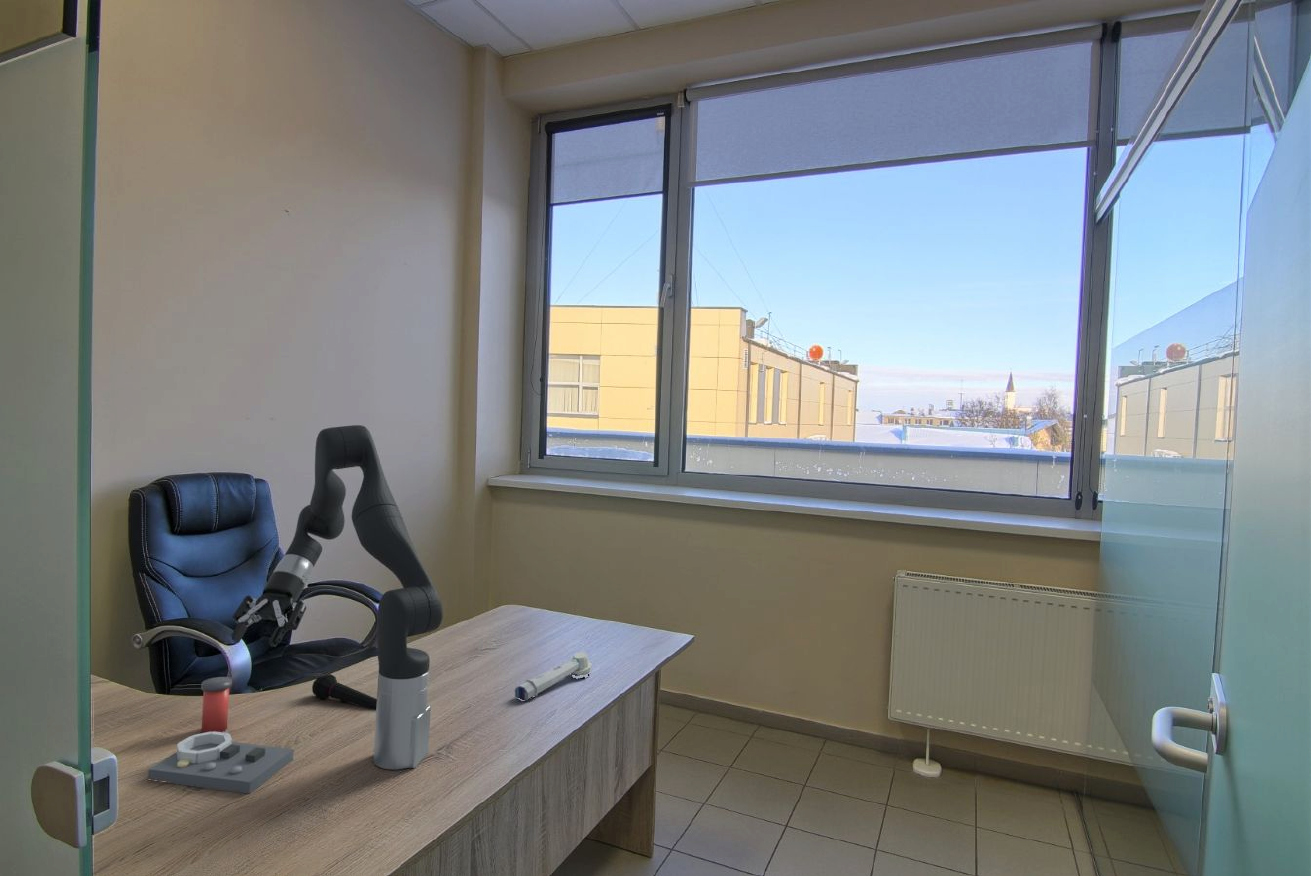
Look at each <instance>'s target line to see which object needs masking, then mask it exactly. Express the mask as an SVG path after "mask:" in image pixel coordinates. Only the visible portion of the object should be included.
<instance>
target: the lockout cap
mask: <svg viewBox="0 0 1311 876" xmlns="http://www.w3.org/2000/svg"><path fill="white" fill-rule="evenodd" d="M232 685H233V680H232V678H231V677H227V676H217V677H212V678H207V679H205V680H203V681H202V682H201V688H200V689H201V691H203V697H202V714H201V730H200V731H201V732H202V733H206V732H211V731H212V732H213V731H215V732H223V731H225V730H226V729H227V730H228V719H229V716H228V715H229V699H230V688H231V687H232ZM227 730H226V731H227ZM226 731H225V732H226ZM223 733H224V732H223Z"/></svg>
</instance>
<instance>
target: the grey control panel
mask: <svg viewBox="0 0 1311 876" xmlns="http://www.w3.org/2000/svg"><path fill="white" fill-rule="evenodd" d="M292 761H294V749H293V748H286V747H278V746H271V745H270V746H269V745H263V744H262V745H261V744H255V743H244V742H236V741H233V739H232V736H231V734H230V733H228V732H215V731H213V732H212V731H211V732H206V733H198V734H197V733H196V734H193V735H190V736H188V737H187V738H184V739H183V740H181V741H179V742H178V743H177V744H176V752H175V753H172V754H171V755H169V756H168V757H166V758H164V759H163V760H161V761H159V762H158V763H156V764H154V765H153V766H151V767H150V768H148V769H147V780H148V779H151V780H157V781H166V782H170V783H169V784H171V783H176V784H175V785H179V784H182V785H181V786H187V785H190V786H189V787H194V786H196V787H197V788H202V787H203V788H204V789H211V790H219V791H225V792H234V793H241V794H251V793H253V792H254V791H256V790H257V788H259V787H260V786H261V785H263V784H264V783H265V782H267V781H268V780H269V779H271V777H273V776H274V775H276V774H277V773H278V772H279V771H281V770H282V769H283V768H285V766H287V765H289V764H290V763H291V762H292Z"/></svg>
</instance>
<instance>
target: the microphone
mask: <svg viewBox="0 0 1311 876" xmlns="http://www.w3.org/2000/svg"><path fill="white" fill-rule="evenodd" d="M311 689H312V690H311V691H312V694H313V695H314V696H315V698H316V699H319V700H321V701H323V700H325V699H328V698H331V699H334V700H338V701H339V702H341V703H343V704H348V703H349V704H352V705H356V706H358V707H359V706H360V707H363V708H366V709H371V710H372V709H373V710H376V707H377V698H375V697H373V696H370V695H369V694H366V693H364V692H361V691H359V690H356V689H354V688H352V687H349V686H347V685H345V684H342V683H340V682H338V679H337V677H336V676H335V675H333V674H331V673H327V674H322V675H320V676H318V677H317V678H316V679H315V680H314V681H313V683H312V686H311Z"/></svg>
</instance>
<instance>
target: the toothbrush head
mask: <svg viewBox="0 0 1311 876" xmlns="http://www.w3.org/2000/svg"><path fill="white" fill-rule="evenodd" d="M592 666H593V665H592V663H591V661H589V656H588V654H587V653H586V652H583V651H581V652H576V653H574V655H573V656H572V659H570V660H568V661H565V662H563V663H561V664H559V665H558V666H556V667H553V668H552V669H549V670H547V671H545V672H543V673H540V674H538V675H536V676H535V677H532V678H531V679H530V678H528V679H526V680H525V681H524V682H523V683H521V684H520V685H518V686H517V687H516V688H515V689H514V697H515V698H516V697H517V698H520V699H522V700H525V702H527V701H529V700H530V699H532V698H533V696H536V697H537V696H538V693H539V694H540V693H542V692H543V691H545V690H547V689H548V688H550V687H551V686H553V685H554V684H556V683H558V682H560V681H561V680H563V679H564V678H566V677H567V676H569V675H571V674H572V675H575V676H580V675H586V674H588V673H589V672H590V673H591V669H592ZM531 697H532V698H531ZM517 698H516V699H517ZM529 698H530V699H529ZM528 699H529V700H528ZM526 700H527V701H526Z"/></svg>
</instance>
